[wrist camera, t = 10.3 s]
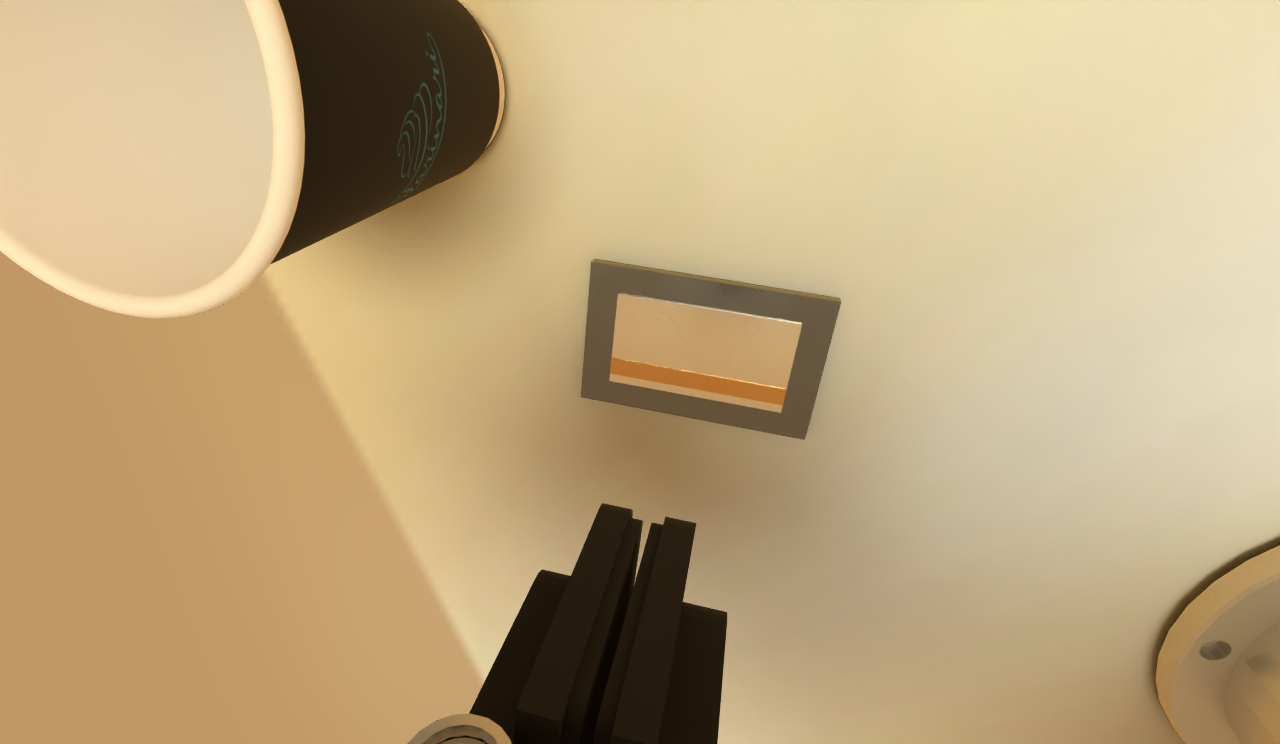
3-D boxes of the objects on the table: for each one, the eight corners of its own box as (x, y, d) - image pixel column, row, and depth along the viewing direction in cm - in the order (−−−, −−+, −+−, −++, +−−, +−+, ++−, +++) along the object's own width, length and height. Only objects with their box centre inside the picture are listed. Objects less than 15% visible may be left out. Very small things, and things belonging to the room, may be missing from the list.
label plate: (839, 298, 19) (841, 303, 19) (804, 433, 21) (804, 441, 21) (594, 259, 20) (590, 262, 20) (584, 392, 22) (579, 398, 22)
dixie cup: (276, -16, 19) (-294, -151, 9) (505, -113, 16) (83, -444, 6) (378, 238, 21) (32, 353, 11) (585, 185, 19) (376, 273, 9)
